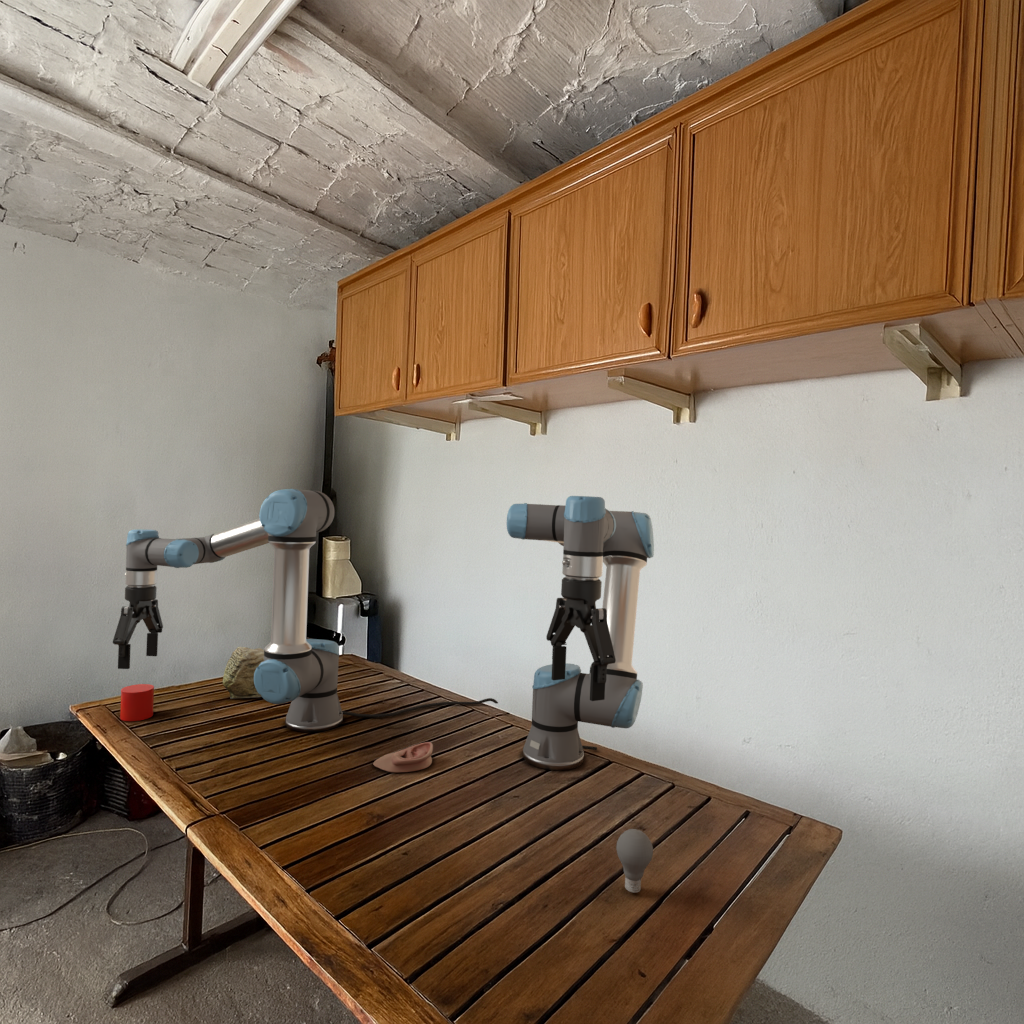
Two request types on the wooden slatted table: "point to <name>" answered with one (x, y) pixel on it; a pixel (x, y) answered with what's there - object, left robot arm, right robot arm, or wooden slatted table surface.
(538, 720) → the right robot arm
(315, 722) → the left robot arm
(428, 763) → the anatomical model
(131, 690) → the canister
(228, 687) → the fossil
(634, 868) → the light bulb
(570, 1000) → the wooden slatted table surface
